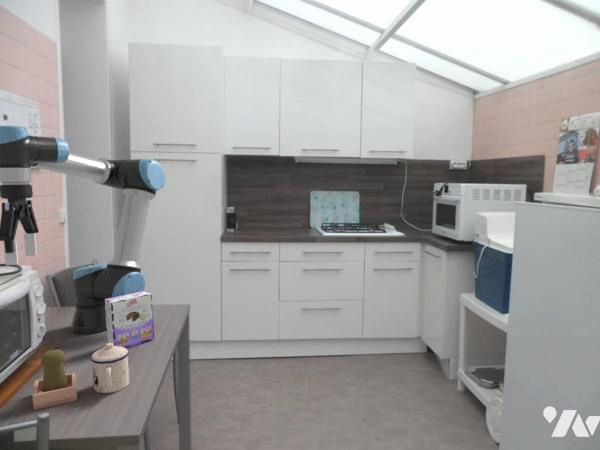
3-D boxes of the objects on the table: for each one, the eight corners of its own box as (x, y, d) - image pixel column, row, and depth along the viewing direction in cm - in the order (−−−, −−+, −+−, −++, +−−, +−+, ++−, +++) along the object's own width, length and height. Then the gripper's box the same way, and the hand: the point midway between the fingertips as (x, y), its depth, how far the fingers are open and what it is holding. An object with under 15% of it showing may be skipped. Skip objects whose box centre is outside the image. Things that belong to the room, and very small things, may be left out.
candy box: (147, 335, 150) (144, 290, 148) (154, 340, 146) (152, 293, 144) (107, 346, 141) (103, 298, 139) (113, 351, 136) (110, 301, 135)
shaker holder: (36, 393, 111) (35, 380, 110) (76, 384, 115) (75, 372, 115) (33, 409, 103) (32, 396, 102) (76, 400, 107) (75, 386, 106)
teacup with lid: (95, 380, 117) (92, 340, 116) (131, 375, 120) (128, 335, 119) (89, 402, 106) (86, 357, 104) (128, 396, 109) (126, 352, 107)
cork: (56, 399, 105) (53, 357, 104) (36, 397, 106) (32, 355, 105) (74, 388, 111) (71, 347, 110) (54, 385, 112) (51, 345, 111)
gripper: (18, 183, 128) (24, 252, 131) (-23, 184, 104) (-15, 270, 106) (46, 183, 130) (51, 251, 132) (12, 184, 106) (19, 268, 108)
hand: (22, 260), depth 119 cm, fingers open, 13 cm apart
